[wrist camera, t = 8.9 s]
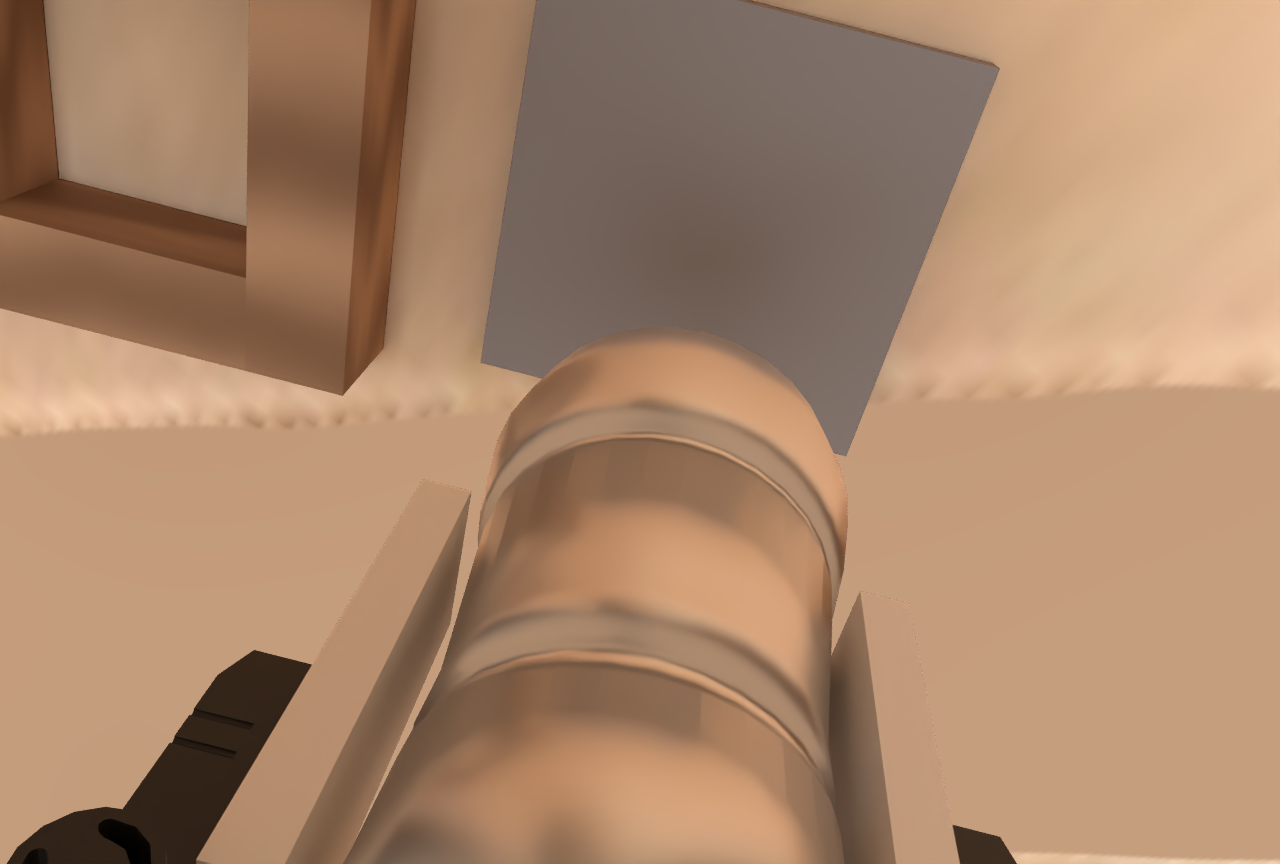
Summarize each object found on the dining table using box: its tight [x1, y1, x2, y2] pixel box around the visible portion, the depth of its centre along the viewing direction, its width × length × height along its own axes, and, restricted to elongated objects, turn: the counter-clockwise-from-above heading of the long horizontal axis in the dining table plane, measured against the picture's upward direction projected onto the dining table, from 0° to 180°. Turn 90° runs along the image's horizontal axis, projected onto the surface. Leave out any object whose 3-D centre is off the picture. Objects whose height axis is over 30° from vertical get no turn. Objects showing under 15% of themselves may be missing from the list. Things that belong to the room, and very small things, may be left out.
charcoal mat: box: [481, 0, 1000, 456], centre depth 32 cm, size 14×14×1 cm
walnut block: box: [0, 0, 416, 396], centre depth 31 cm, size 16×16×4 cm
